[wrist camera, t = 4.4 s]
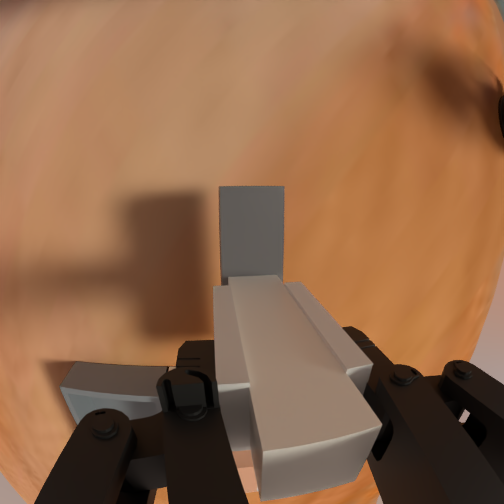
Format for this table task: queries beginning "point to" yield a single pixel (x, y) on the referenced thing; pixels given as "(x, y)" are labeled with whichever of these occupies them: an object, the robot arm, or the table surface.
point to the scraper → (287, 360)
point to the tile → (246, 470)
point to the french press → (501, 113)
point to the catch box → (112, 389)
